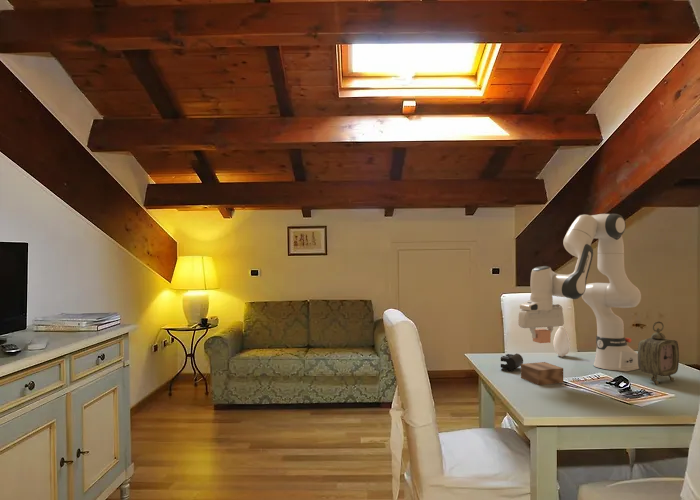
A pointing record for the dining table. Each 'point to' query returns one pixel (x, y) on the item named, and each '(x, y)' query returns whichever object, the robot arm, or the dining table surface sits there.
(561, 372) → the walnut block
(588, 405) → the dining table surface
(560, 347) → the white teardrop ornament
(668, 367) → the tabletop clock
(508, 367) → the end cap
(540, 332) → the terracotta block
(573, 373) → the dining table surface
